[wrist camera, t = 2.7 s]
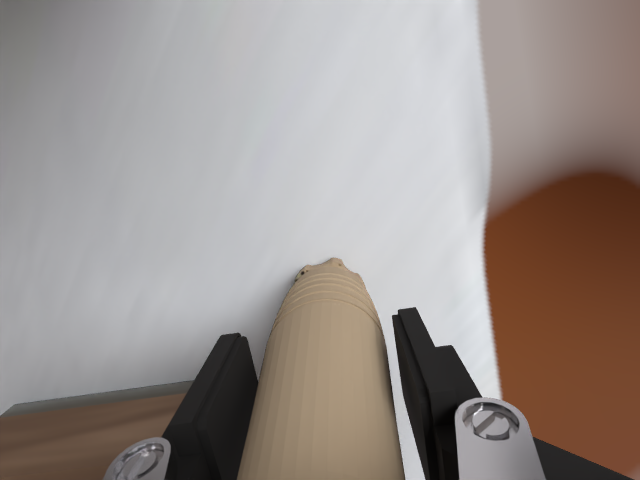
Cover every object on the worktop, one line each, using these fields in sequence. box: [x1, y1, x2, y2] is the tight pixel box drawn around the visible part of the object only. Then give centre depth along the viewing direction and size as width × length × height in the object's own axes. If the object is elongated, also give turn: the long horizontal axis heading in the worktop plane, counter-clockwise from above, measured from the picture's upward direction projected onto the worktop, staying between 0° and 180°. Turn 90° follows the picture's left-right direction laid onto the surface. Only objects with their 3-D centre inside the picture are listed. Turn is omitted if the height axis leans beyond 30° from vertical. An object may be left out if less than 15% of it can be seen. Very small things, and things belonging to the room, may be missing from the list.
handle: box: [237, 258, 405, 480], centre depth 10 cm, size 5×6×15 cm
